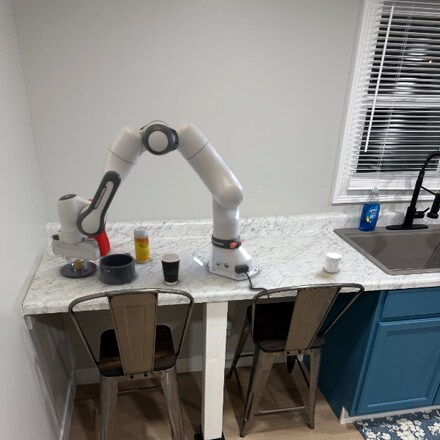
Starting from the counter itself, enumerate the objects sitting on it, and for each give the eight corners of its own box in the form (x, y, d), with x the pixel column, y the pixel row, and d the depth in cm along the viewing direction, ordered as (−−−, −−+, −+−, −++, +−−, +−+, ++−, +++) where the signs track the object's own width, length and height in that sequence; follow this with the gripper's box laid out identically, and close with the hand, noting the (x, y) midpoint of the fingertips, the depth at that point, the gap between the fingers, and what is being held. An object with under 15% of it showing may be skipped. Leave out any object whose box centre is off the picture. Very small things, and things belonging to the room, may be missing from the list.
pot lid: (103, 266, 173) (102, 256, 171) (85, 280, 161) (83, 270, 158) (73, 261, 176) (72, 251, 174) (53, 275, 164) (51, 265, 162)
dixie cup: (171, 275, 167) (170, 251, 161) (185, 281, 163) (184, 256, 157) (157, 282, 161) (155, 257, 156) (171, 288, 157) (170, 263, 152)
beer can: (147, 264, 176) (144, 231, 169) (133, 262, 177) (131, 230, 169) (151, 258, 181) (149, 227, 174) (139, 257, 182) (136, 225, 175)
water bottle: (114, 248, 190) (108, 196, 177) (104, 258, 180) (98, 203, 168) (95, 247, 191) (88, 194, 179) (85, 256, 181) (77, 201, 169)
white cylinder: (330, 274, 173) (332, 259, 169) (319, 268, 178) (322, 253, 174) (342, 271, 175) (345, 256, 172) (331, 265, 181) (334, 250, 177)
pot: (143, 269, 171) (142, 253, 167) (122, 290, 155) (121, 272, 151) (115, 265, 174) (113, 249, 170) (91, 284, 158) (88, 267, 154)
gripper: (100, 235, 161) (104, 267, 168) (56, 229, 166) (61, 260, 173) (92, 241, 156) (96, 273, 163) (46, 235, 160) (52, 266, 167)
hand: (78, 266), depth 168 cm, fingers open, 5 cm apart
